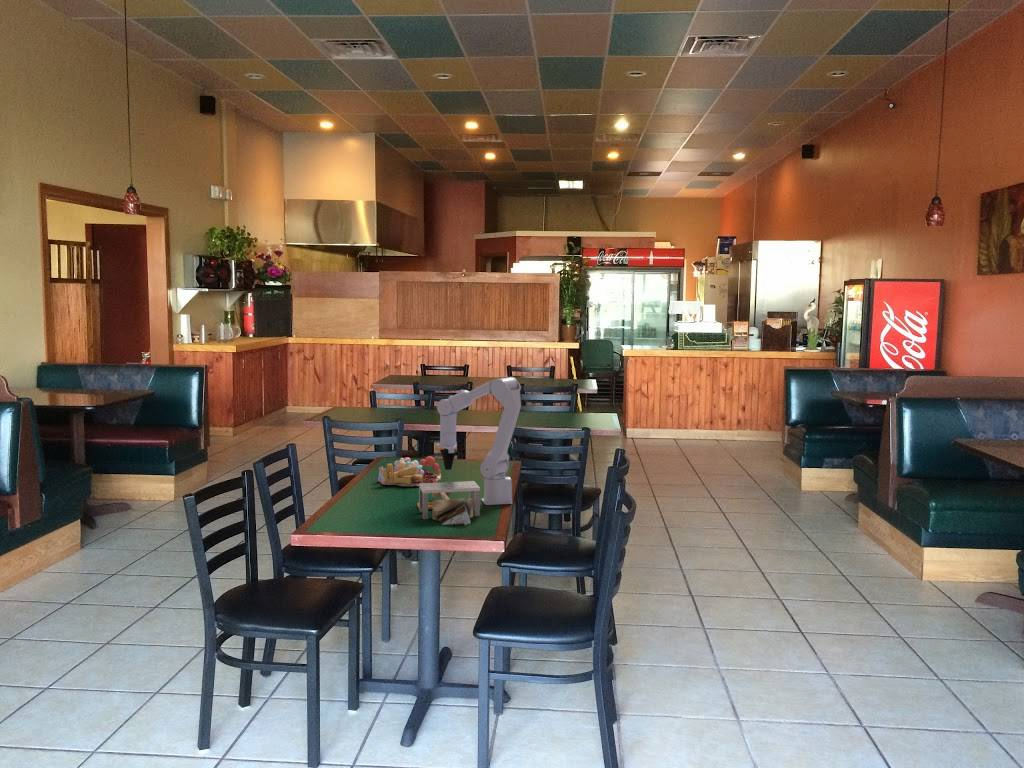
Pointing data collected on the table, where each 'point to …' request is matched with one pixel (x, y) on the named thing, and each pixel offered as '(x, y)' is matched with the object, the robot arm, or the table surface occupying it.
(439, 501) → the sled
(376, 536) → the table surface
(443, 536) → the table surface
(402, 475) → the candy landscape model
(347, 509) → the table surface
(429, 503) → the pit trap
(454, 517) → the chocolate cake
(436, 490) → the tunnel
